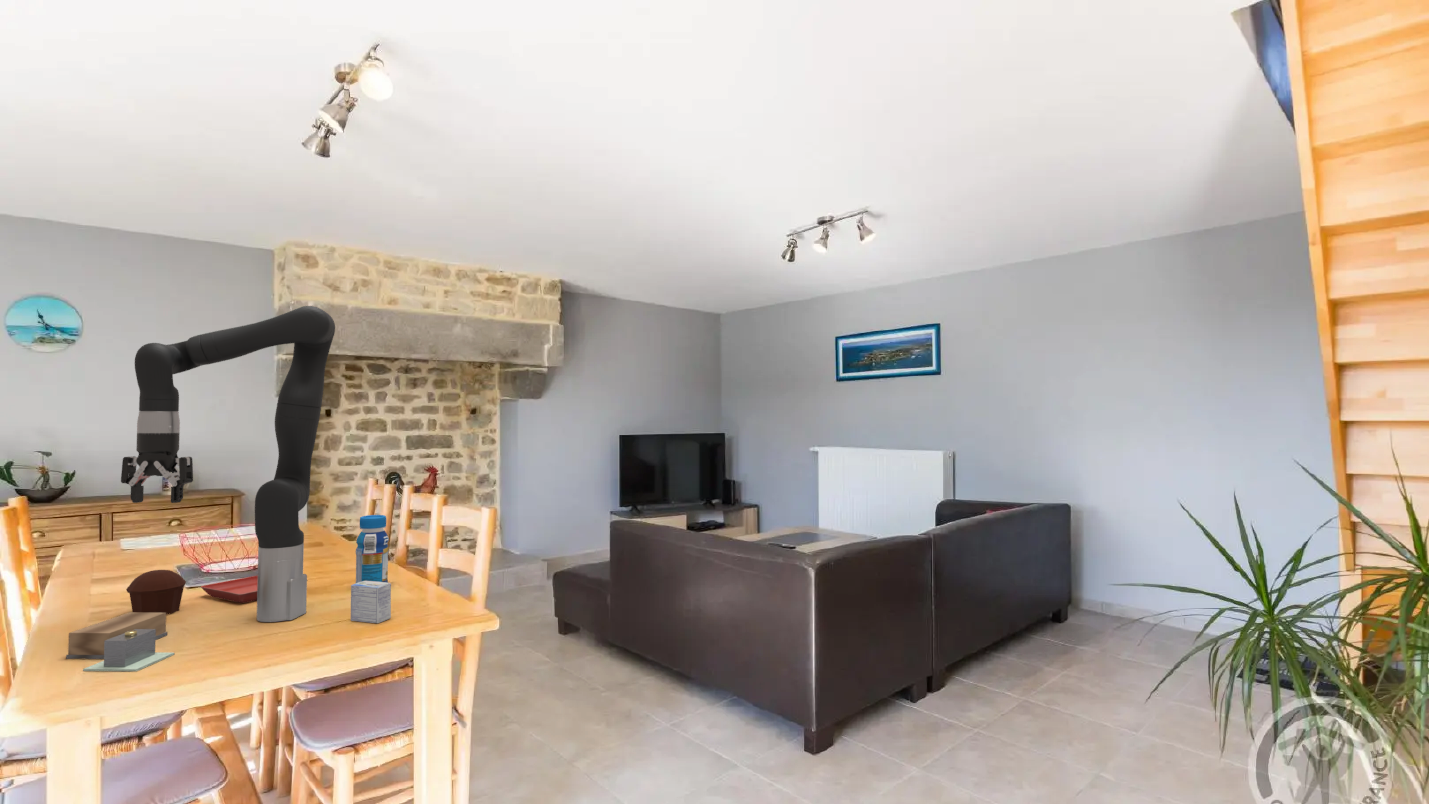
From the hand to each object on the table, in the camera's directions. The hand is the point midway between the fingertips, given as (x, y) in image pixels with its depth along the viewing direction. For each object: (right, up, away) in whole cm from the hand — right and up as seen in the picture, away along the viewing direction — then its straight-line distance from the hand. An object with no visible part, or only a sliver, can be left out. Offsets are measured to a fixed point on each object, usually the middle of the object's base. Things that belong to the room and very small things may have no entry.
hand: (156, 502), depth 153 cm
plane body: (+3, -28, -13) cm, 31 cm away
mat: (+13, -28, -22) cm, 38 cm away
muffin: (-9, -29, +11) cm, 32 cm away
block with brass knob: (+13, -28, -22) cm, 37 cm away
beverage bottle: (+30, -30, +37) cm, 56 cm away
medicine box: (+45, -29, +7) cm, 54 cm away
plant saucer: (+2, -30, +29) cm, 42 cm away
